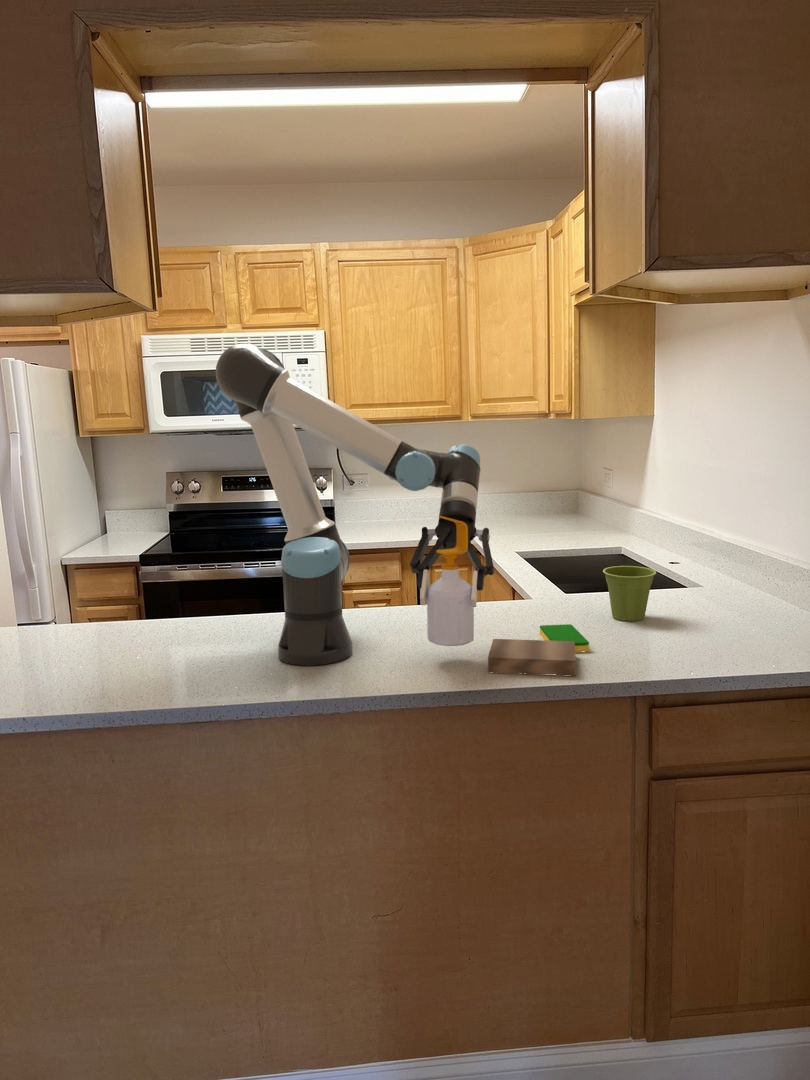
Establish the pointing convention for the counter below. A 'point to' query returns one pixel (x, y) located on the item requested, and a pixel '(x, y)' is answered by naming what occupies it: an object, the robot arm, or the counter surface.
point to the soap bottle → (451, 598)
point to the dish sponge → (564, 635)
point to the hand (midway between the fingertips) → (448, 602)
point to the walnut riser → (532, 657)
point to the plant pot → (629, 591)
